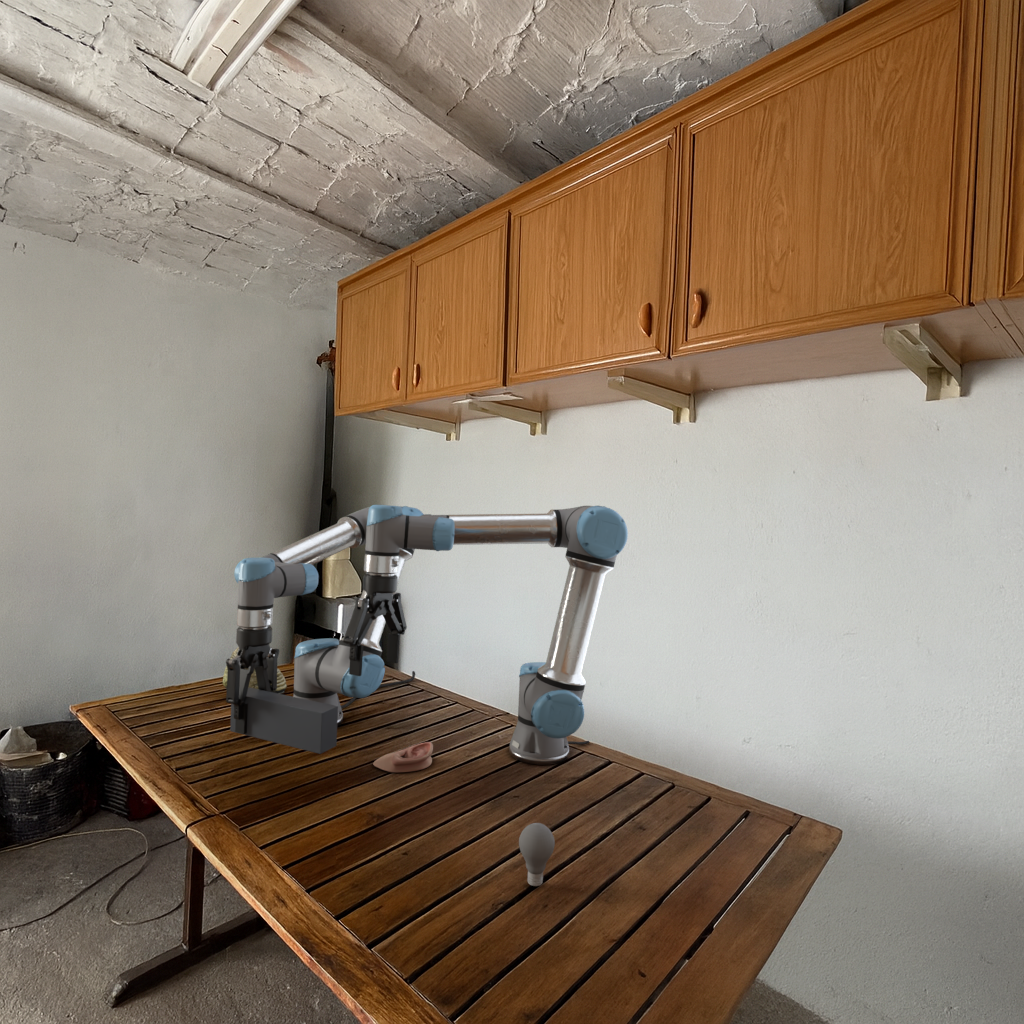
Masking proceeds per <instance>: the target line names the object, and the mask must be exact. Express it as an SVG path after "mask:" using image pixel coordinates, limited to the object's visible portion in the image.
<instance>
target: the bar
mask: <svg viewBox="0 0 1024 1024" xmlns="http://www.w3.org/2000/svg"><path fill="white" fill-rule="evenodd" d="M239 699H240V698H239ZM245 704H248V711H247V733H246V734H241V733H239V734H240V735H244V736H248V737H252V738H256V739H259V740H263V741H268V742H271V743H275V744H279V745H283V746H287V747H290V748H291V747H292V748H295V749H299V750H302V751H307V752H309V753H310V752H311V753H314V754H319V755H321V754H324V753H325V752H328V751H329V750H331V749H333V748H335V747H337V742H338V726H337V719H338V706H334V705H330V704H325V703H320V702H316V701H311V700H306V699H301V698H297V697H293V695H292V696H291V695H287V694H284V693H280V694H278V693H273V692H269V691H264V690H259V689H254V688H250V687H249V688H248V691H247V695H246V700H245ZM235 720H236V719H234V704H230V725H229V726H230V728H229V731H230V732H233V733H236V734H238V733H237V732H235Z"/></svg>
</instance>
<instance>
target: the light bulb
mask: <svg viewBox="0 0 1024 1024" xmlns="http://www.w3.org/2000/svg"><path fill="white" fill-rule="evenodd" d="M555 845H556V841H555V836H554V835H553V832H552V831H551V829H550V828H549V827H548V826H546V824H544V823H541V822H533V823H530V824H528V825H526V826H525V827H524V828H523V830H522V831H521V833H520V835H519V837H518V846H519V847H518V848H519V851H520V853H521V855H522V857H523V859H524V861H525V867H526V870H527V880H526V881H527V883H528V884H529V885H530V886H531V887H532V886H533V887H540V886H542V885H543V883H544V882H543V881H544V872H545V870H546V866H547V863H548V861H549V860H550V858H551V856H552V855H553V853H554V850H555Z"/></svg>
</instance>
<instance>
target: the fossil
mask: <svg viewBox="0 0 1024 1024" xmlns="http://www.w3.org/2000/svg"><path fill="white" fill-rule="evenodd" d="M238 649H239V647H238V646H237V648H236V649H235V650H233V651H232V653H231V656H230V657H229V659H232V658H234V657H235V656H237V652H238ZM245 669H247V668H245ZM227 674H228V668H227V665H226V666H225V668H224V671H223V675H222V676H223V677H222V685H223V687H224V688H225V690H227ZM271 685H272V684H271ZM249 687H250V688H254V689H259V688H258V683H257V677H256V672H255V669H254V672H253V674H251V678H250V682H249ZM249 687H248V688H249ZM287 687H288V686H287V680H286V678H285V676H284V674H283V673H282V672H281V669H279V668H278V667H277V689H276V691H273V693H278V694H284V693H285V691H286V689H287Z"/></svg>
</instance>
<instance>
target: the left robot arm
mask: <svg viewBox="0 0 1024 1024" xmlns="http://www.w3.org/2000/svg"><path fill="white" fill-rule="evenodd" d="M399 506H400V507H401V508H402V512H403V515H409V516H421V515H425V514H424V513H423V511H421V510H420V509H418V508H417V507H411V506H407V505H403V506H401V505H399ZM370 507H371V506H368V507H364V508H362V509H359V510H356V511H354V512H352V513H349V514H346V515H345V516H342V517H340V518H339V519H338V521H337V523H335V524H333V525H330V526H329V527H326V528H324V529H322V530H319V531H318V532H315V533H312V534H310V535H309V536H306V537H304V538H302V539H299V540H298V541H295V542H293V543H291V544H288V545H286V546H284V547H282V548H279V549H277V550H275V551H272V552H270V553H267V554H265V555H263V556H261V557H246V558H245V557H244V558H243V559H241V560H240V561H239V562H238V563H237V564H236V566H235V568H234V572H233V574H234V575H233V576H234V580H235V582H236V583H237V612H236V626H238V627H237V628H236V637H235V639H236V640H235V643H236V644H237V648H238V647H239V649H238V652H237V656H235V657H234V658H232V659H230V658H226V660H225V664H226V665H227V666H226V667H227V668H228V674H227V689H226V692H225V693H226V694H225V695H226V696H225V703H226V704H230V705H231V704H234V719H236V720H235V732H234V733H236V732H237V733H236V734H240V733H241V734H240V735H243V734H246V733H247V711H248V704H245V700H246V695H247V691H248V687H249V682H250V678H251V674H253V672H254V669H255V672H256V677H257V683H258V688H259V690H264V691H269V692H273V691H276V689H277V668H278V659H279V655H280V649H279V648H277V647H276V648H275V647H271V645H270V644H271V643H272V642H273V627H272V625H273V616H274V602H275V599H279V598H285V597H295V596H304V595H307V594H311V593H313V592H314V591H315V590H316V589H317V587H318V585H319V579H320V575H319V572H318V570H317V568H316V567H315V566H314V565H315V564H318V563H320V562H322V561H324V560H326V559H327V558H330V557H332V556H334V555H336V554H338V553H340V552H342V551H344V550H346V549H348V548H350V549H356V548H358V547H360V546H364V545H365V546H366V529H367V520H368V511H369V508H370ZM405 522H406V521H405ZM415 550H416V549H409V548H407V549H404V548H400V550H399V561H398V562H399V563H398V572H397V573H395V575H397V577H398V580H397V587H398V585H399V582H400V579H401V576H402V573H403V569H404V567H405V564H406V562H407V561H409V560H411V559H412V558H413V556H414V554H415ZM360 598H364V599H365V598H366V591H364V590H363V589H362V593H361V595H360ZM368 613H369V612H368ZM386 624H387V623H386V621H385V619H384V617H383V615H381V616H378V617H377V618H376V619H375V620H373V622H372V624H371V625H370V627H369V629H368V631H367V633H366V635H365V637H364V639H363V641H362V643H361V645H363V659H362V674H361V676H356V675H351V674H349V667H350V659H349V654H350V644H346V643H344V642H343V639H344V636H343V637H341V638H340V640H339V639H338V638H335V637H334V638H332V637H329V638H315V639H308V640H304V641H302V642H299V643H298V644H297V645H296V646H295V652H294V653H295V654H294V656H293V659H294V661H293V662H294V663H293V664H294V668H293V695H292V697H297V698H301V699H306V700H311V701H316V702H320V703H325V704H330V705H334V706H338V719H337V727H339V726H340V725H342V723H343V722H344V713H343V709H345V708H347V707H349V706H351V704H352V703H353V702H355V701H356V700H357V699H365V698H367V697H370V695H372V694H373V693H375V692H376V691H377V690H378V689H381V688H386V687H392V686H396V685H397V686H398V685H402V684H403V685H404V684H408V683H411V682H413V681H414V680H415V678H416V671H414V670H412V671H411V677H410V678H409V679H405V680H404V679H403V680H399V681H393V682H388V683H382V682H383V681H384V676H385V671H386V667H385V662H384V660H383V658H382V657H381V656H382V653H383V650H382V647H381V646H380V641H381V638H382V634H383V632H384V628H385V625H386ZM349 638H350V637H349ZM357 639H358V638H357ZM245 668H247V669H245ZM271 684H272V685H271ZM338 694H340V695H343V696H345V697H348V698H351V699H349V700H348V701H347V702H346V703H344V704H341V702H340V699H339V695H338ZM239 698H240V699H239Z"/></svg>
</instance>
